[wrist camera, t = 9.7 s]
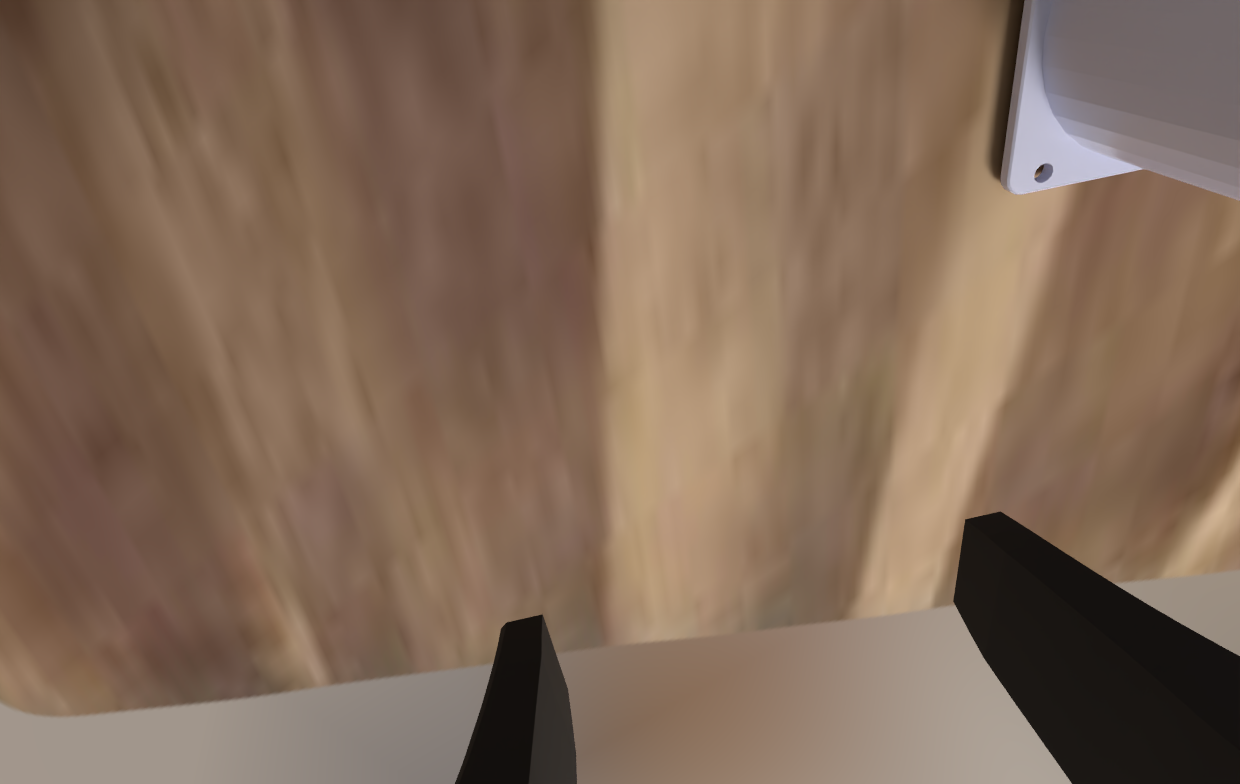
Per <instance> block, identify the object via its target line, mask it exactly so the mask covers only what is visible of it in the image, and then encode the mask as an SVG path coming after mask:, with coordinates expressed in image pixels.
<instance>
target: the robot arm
mask: <svg viewBox="0 0 1240 784" xmlns="http://www.w3.org/2000/svg"><path fill="white" fill-rule="evenodd" d="M1043 164H1044V168H1043V171H1042V173H1041V174H1040V175H1039V176H1038V177H1036V178H1034V174H1035V172H1036V170H1037V169H1038V168H1039V166H1040V165H1043ZM1141 169H1146V170H1149V171H1152V172H1155V173H1158V174H1161V175H1164V176H1167V177H1170V178H1173V179H1176V180H1179V181H1182V182H1185V183H1188V184H1191V185H1194V186H1197V187H1200V188H1203V189H1206V190H1209V191H1212V192H1215V193H1218V194H1221V195H1224V196H1227V197H1230V198H1233V199H1236V200H1239V201H1240V0H1025V1H1024V8H1023V15H1022V23H1021V30H1020V38H1019V45H1018V52H1017V60H1016V67H1015V74H1014V82H1013V89H1012V97H1011V104H1010V111H1009V119H1008V126H1007V133H1006V141H1005V148H1004V155H1003V163H1002V170H1001V185H1002V186H1003V188H1004V189H1006V190H1007V191H1009V192H1012V193H1014V194H1026V193H1031V192H1036V191H1041V190H1045V189H1050V188H1055V187H1060V186H1065V185H1069V184H1074V183H1079V182H1084V181H1089V180H1093V179H1098V178H1103V177H1108V176H1113V175H1117V174H1122V173H1127V172H1132V171H1137V170H1141ZM954 603H955V605H956V607H957V609H958V611H959V613H960V615H961V617H962V619H963V620H964V622H965V624H966V626H967V628H968V630H969V632H970V634H971V636H972V637H973V639H974V641H975V643H976V644H977V646H978V648H979V650H980V652H981V653H982V655H983V657H984V659H985V660H986V662H987V663H988V664H989V666H990V668H991V669H992V671H993V672H994V673H995V675H996V676H997V678H998V679H999V681H1000V682H1001V683H1002V685H1003V686H1004V688H1005V689H1006V690H1007V692H1008V693H1009V695H1010V696H1011V698H1012V699H1013V701H1014V702H1015V704H1016V705H1017V706H1018V708H1019V709H1020V711H1021V712H1022V713H1023V715H1024V716H1025V717H1026V719H1027V720H1028V722H1029V723H1030V725H1031V726H1032V728H1033V729H1034V730H1035V732H1036V733H1037V735H1038V736H1039V737H1040V739H1041V740H1042V742H1043V743H1044V745H1045V746H1046V747H1047V749H1048V750H1049V752H1050V753H1051V754H1052V756H1053V757H1054V758H1055V760H1056V761H1057V763H1058V764H1059V766H1060V767H1061V769H1062V770H1063V771H1064V773H1065V774H1066V776H1067V777H1068V778H1069V780H1070V781H1071V783H1072V784H1240V656H1238V655H1236V654H1234V653H1233V652H1231V651H1229V650H1227V649H1225V648H1223V647H1222V646H1219V645H1218V644H1216V643H1214V642H1213V641H1211V640H1209V639H1207V638H1205V637H1204V636H1202V635H1200V634H1198V633H1196V632H1194V631H1193V630H1191V629H1189V628H1187V627H1186V626H1184V625H1182V624H1180V623H1179V622H1177V621H1175V620H1173V619H1172V618H1170V617H1168V616H1167V615H1165V614H1163V613H1161V612H1160V611H1158V610H1156V609H1155V608H1153V607H1151V606H1149V605H1148V604H1146V603H1144V602H1143V601H1141V600H1139V599H1138V598H1136V597H1134V596H1133V595H1131V594H1129V593H1128V592H1126V591H1125V590H1123V589H1121V588H1120V587H1118V586H1117V585H1115V584H1113V583H1112V582H1110V581H1108V580H1107V579H1105V578H1104V577H1102V576H1101V575H1099V574H1097V573H1096V572H1094V571H1093V570H1091V569H1089V568H1088V567H1086V566H1085V565H1083V564H1082V563H1080V562H1078V561H1077V560H1075V559H1074V558H1072V557H1071V556H1069V555H1067V554H1066V553H1064V552H1063V551H1061V550H1060V549H1058V548H1057V547H1055V546H1054V545H1052V544H1050V543H1049V542H1047V541H1046V540H1044V539H1043V538H1041V537H1040V536H1038V535H1037V534H1035V533H1033V532H1032V531H1030V530H1029V529H1027V528H1026V527H1024V526H1023V525H1021V524H1019V523H1018V522H1016V521H1015V520H1013V519H1012V518H1010V517H1008V516H1007V515H1005V514H1004V513H1002V512H997V513H992V514H988V515H983V516H979V517H974V518H970V519H965V525H964V532H963V539H962V546H961V553H960V560H959V567H958V574H957V580H956V587H955V594H954ZM455 784H577V774H576V750H575V742H574V733H573V725H572V717H571V709H570V702H569V694H568V688H567V685H566V682H565V679H564V676H563V673H562V670H561V667H560V665H559V662H558V659H557V656H556V653H555V650H554V647H553V644H552V641H551V638H550V635H549V632H548V629H547V626H546V623H545V620H544V617H543V615H538V616H534V617H529V618H525V619H520V620H516V621H512V622H507V623H506V624H505V625H504V626H503V627H502V628H501V632H500V637H499V642H498V647H497V651H496V655H495V659H494V664H493V668H492V671H491V675H490V679H489V682H488V686H487V689H486V693H485V696H484V700H483V703H482V707H481V710H480V713H479V716H478V719H477V722H476V725H475V728H474V731H473V734H472V737H471V740H470V744H469V746H468V749H467V752H466V756H465V758H464V761H463V764H462V766H461V769H460V772H459V774H458V777H457V780H456V782H455Z"/></svg>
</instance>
